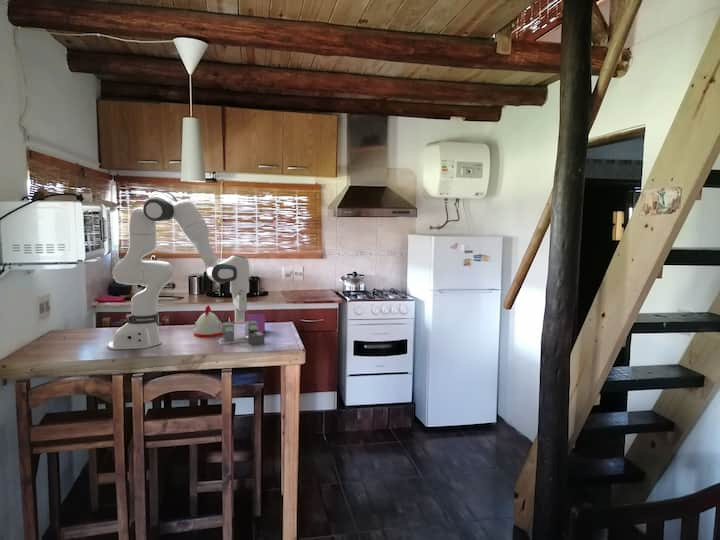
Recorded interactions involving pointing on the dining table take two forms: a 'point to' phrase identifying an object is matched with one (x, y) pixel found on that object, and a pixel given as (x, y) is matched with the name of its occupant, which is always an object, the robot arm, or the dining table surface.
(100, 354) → the dining table surface
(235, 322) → the loose module
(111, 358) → the dining table surface
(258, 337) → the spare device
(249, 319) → the mounting bracket
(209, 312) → the white and red dome
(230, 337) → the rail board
